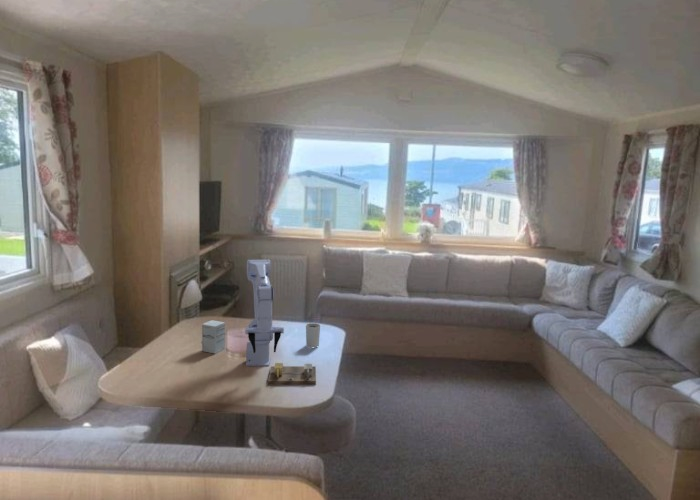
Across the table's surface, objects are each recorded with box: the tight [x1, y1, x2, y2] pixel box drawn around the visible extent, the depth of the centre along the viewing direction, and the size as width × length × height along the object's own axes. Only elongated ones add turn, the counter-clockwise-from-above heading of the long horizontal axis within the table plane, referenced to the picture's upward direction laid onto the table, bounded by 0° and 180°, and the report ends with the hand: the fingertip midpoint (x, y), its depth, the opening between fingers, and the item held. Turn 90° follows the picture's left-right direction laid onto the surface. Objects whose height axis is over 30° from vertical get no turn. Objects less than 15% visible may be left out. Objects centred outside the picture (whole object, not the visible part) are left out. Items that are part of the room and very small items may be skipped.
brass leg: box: [274, 362, 284, 379], centre depth 187 cm, size 3×8×3 cm, turn 5°
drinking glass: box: [305, 322, 321, 349], centre depth 224 cm, size 7×7×10 cm
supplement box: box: [201, 319, 226, 355], centre depth 214 cm, size 7×7×13 cm
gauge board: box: [267, 363, 317, 386], centre depth 189 cm, size 18×14×4 cm
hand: (264, 351), depth 187 cm, fingers open, 7 cm apart
